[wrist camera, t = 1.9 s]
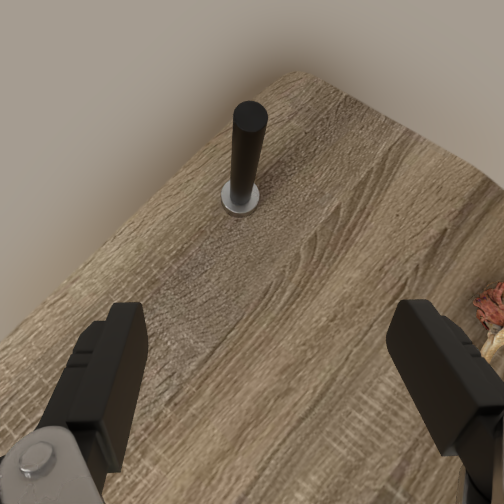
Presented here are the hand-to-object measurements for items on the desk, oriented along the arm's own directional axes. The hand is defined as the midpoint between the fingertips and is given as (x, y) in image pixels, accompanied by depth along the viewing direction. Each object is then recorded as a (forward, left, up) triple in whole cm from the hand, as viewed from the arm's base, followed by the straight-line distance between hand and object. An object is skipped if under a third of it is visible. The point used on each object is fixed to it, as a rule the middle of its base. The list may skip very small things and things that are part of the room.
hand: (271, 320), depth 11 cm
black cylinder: (-6, +10, -20) cm, 23 cm away
